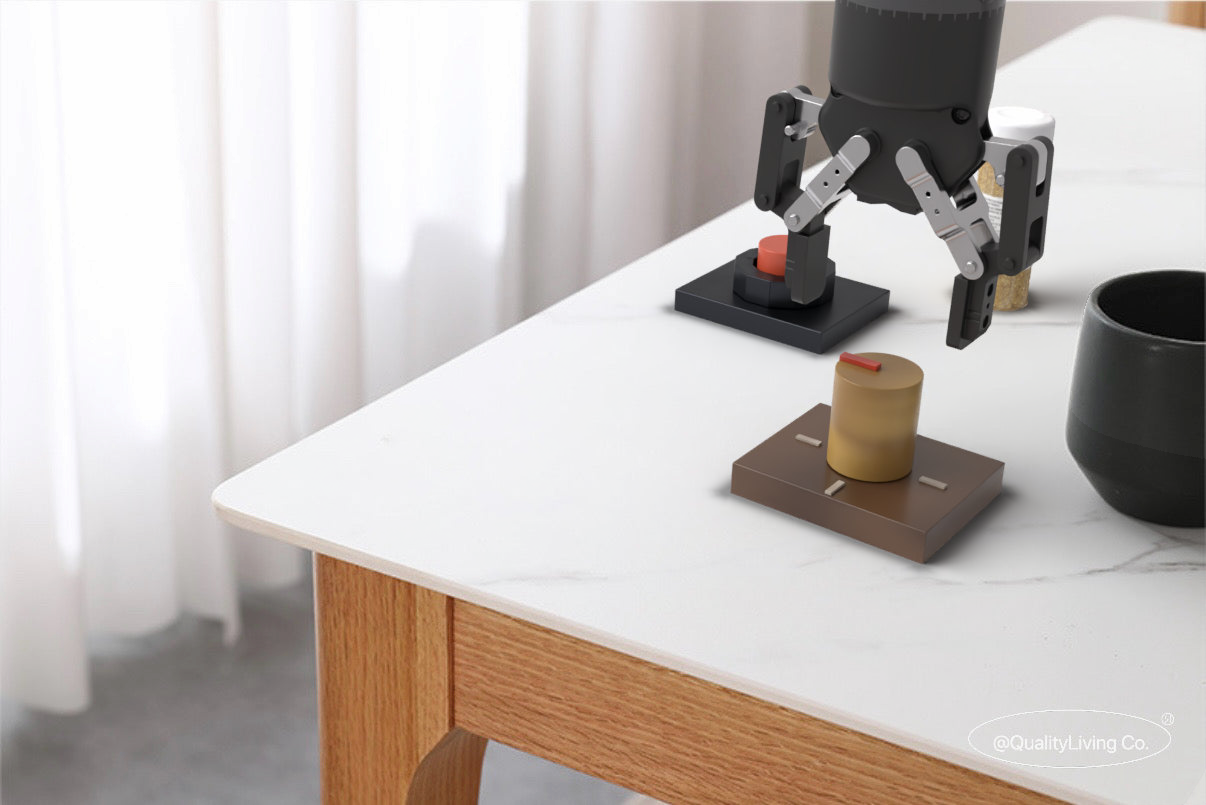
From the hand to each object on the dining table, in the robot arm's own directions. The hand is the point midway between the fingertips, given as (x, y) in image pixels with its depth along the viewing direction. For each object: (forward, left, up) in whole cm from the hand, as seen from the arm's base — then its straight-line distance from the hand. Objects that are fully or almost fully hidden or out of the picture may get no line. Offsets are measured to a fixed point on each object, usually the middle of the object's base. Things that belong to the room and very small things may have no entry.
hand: (881, 320), depth 77 cm
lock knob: (0, 0, -8) cm, 8 cm away
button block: (+16, -18, -10) cm, 26 cm away
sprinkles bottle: (+6, -29, -11) cm, 31 cm away
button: (+16, -18, -7) cm, 25 cm away
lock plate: (0, 0, -10) cm, 10 cm away
